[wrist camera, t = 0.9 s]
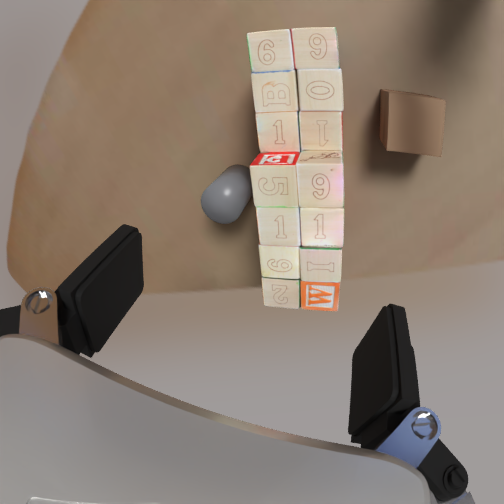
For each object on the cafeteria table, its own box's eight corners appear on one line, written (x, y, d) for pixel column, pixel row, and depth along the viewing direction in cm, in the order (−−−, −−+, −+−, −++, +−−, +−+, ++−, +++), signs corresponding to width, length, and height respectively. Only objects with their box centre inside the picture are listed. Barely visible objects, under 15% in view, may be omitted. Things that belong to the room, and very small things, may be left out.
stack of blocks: (271, 41, 25) (232, 25, 15) (337, 39, 23) (340, 18, 13) (286, 235, 36) (262, 308, 26) (340, 238, 34) (337, 314, 24)
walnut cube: (429, 95, 23) (445, 100, 19) (426, 143, 26) (440, 157, 22) (380, 89, 25) (389, 92, 21) (379, 138, 27) (386, 150, 23)
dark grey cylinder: (260, 169, 32) (245, 190, 27) (253, 202, 35) (238, 228, 30) (224, 160, 33) (203, 179, 28) (219, 193, 35) (199, 217, 30)
